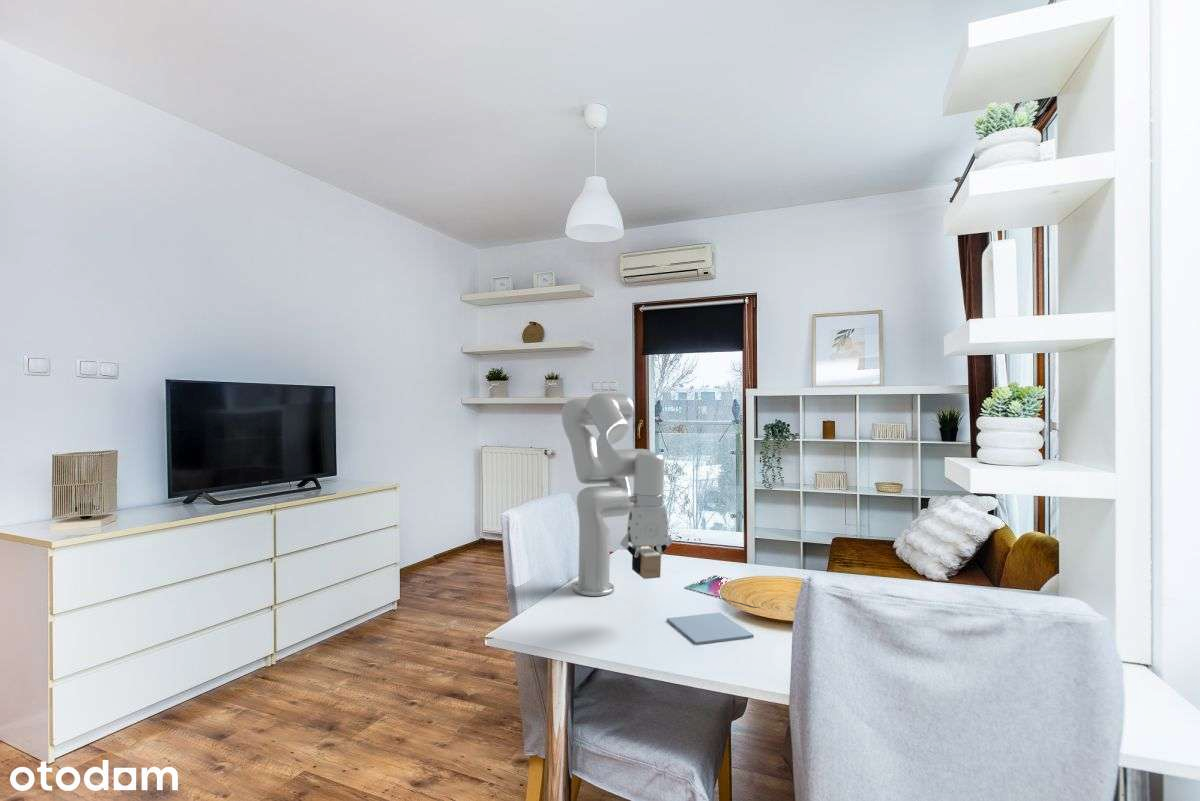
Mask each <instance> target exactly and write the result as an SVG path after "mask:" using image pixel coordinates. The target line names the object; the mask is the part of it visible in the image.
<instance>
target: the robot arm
mask: <svg viewBox="0 0 1200 801" xmlns="http://www.w3.org/2000/svg"><path fill="white" fill-rule="evenodd" d="M634 411H635V406H634V402H633V400H632V399H631V398H630V396H628V395H626V394H625V393H610V392H609V393H606V392H605V393H604V392H602V393H601V392H600V393H595V394H593V395H591V396H590V397H589V398H573V399H569V400H567V401H566V402H565V403H564V405H563V407H562V411H561V422H562V427H563V430H564V433H565V434H566V437H567V439H568V442H569V443H570V448H571V453H572V459H573V463H574V465H573V466H574V469H575V473H576V478H577V479H578V481H579V483H581V484H585V485H595V486H588V487H585V488H583V489H581V490H580V491H579V492H578V494H577V496H576V508H577V514H578V526H579V527H578V529H579V530H578V531H579V532H578V578H577V579H578V580H577V582H575V583H573V586H572V589H573V590H572V591H573V592H575V593H576V594H580V595H583V596H589V597H590V596H591V597H599V596H600V597H601V596H607V595H610V594H612V593H614V591H615V585H614V584H613V583H611V582H610V567H611V566H610V562H611V560H610V559H611V558H610V557H611V555H610V554H611V531H610V528H609V527H608V525H607V524H606V522H605V521H604V518H612V517H613V518H614V517H615V518H616V517H622V516H627V515H628V518H627V526H626V534H625V536H624V537H623V538H622V540H621V541H620V546H621V547H623V549H626V550H627V551H628V552H629V554H630V555H631V557H632V559H631V560H632V561H631V569H632V568H633V570H632V571H633V572H635V571H636V572H637V573H640V560H641V559H640V557H639V553H640V549H641V547H644V546H649V547H652V549H654V550H655V551H657V552H658V553H660V555H661V556H662V555H663V553H664V552H665V550H667V548H668V547H670V545H672V544H673V539H672V538H671V536H670V535H669V520H668V512H667V507H666V505H663V504H664V503H663V502H664V499H663V498H664V478H665V477H664V475H665V474H664V472H665V471H664V470H665V458H664V456H663V454H661V453H659V452H653V451H651V450H649V449H647V448H646V449H645V448H614V447H613V445H615V444H616V443H619V442H621V440H623V439H624V438H625V437H626V436H627V434H628V432H629V428H630V427H629V422H628V421H630V420H631V418H632V417H633V416H634ZM586 426H595V427H596V429H597V431H598V433H599V436H598V438H597V439H596V437H595V435H594V434H593V432H592V431H590V430H589V428H587V427H586ZM629 478H633V479H634V480H633V481H634V482H633V493H632V490H631V485H630V481H629ZM601 484H605V485H601ZM606 484H608V485H606ZM598 485H599V486H598ZM629 543H630V544H631V545H630V544H629ZM636 572H635V573H636ZM637 573H636V574H637Z"/></svg>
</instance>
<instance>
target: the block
mask: <svg viewBox="0 0 1200 801" xmlns="http://www.w3.org/2000/svg"><path fill="white" fill-rule="evenodd" d="M639 557H640V559H641V560H640V573H637V572H636V571H634V570H633V568H632V567H631V570H632V571H634V572H635V573H636V574H637V575H638V576H640V578H642V579H643V580H647V579H648V580H649V579H657V578H659V579H660V578H661V566H662V564H661V563H662V555H660V553H658V552H657V551H655V550H654V549H653V547H652V546H644V547H641V549H640V553H639Z"/></svg>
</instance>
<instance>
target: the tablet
mask: <svg viewBox="0 0 1200 801" xmlns="http://www.w3.org/2000/svg"><path fill="white" fill-rule="evenodd" d="M712 576H713V577H712ZM717 576H719V577H720V575H711V576H710V577H707V578H708V579H707V580H706V578H704V579H705V580H704V579H701V580H699V581H700V583H698V582H699V581H696V582H697V583H698V584H697V583H696V582H693V583H691V584H688V585H686V586H684V587H683V588H684V589H685V590H688V589H689V590H688V591H692V590H693V591H692V592H695V591H697V592H696V593H699V592H700V594H702V593H704V594H703V595H706V594H707V595H706V596H710V595H711V596H710V597H713V596H715V597H714V598H717V597H719V598H718V599H721V598H720V594H719V590H720V587H721V585H722V584H723V582H721V580H722V579H723V578H726V579H727V580H728V578H729V577H723V576H721V578H719V577H717ZM711 577H712V578H711ZM716 577H717V578H716ZM722 577H723V578H722ZM729 579H730V580H731V579H732V578H729ZM726 582H727V581H725V583H726ZM695 583H696V584H695ZM719 583H720V585H719Z"/></svg>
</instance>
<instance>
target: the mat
mask: <svg viewBox="0 0 1200 801" xmlns="http://www.w3.org/2000/svg"><path fill="white" fill-rule="evenodd" d="M666 620H667V622H668V623H670V624H671V625H672V626H673V627H674V628H676V630H678V631H679V632H680V633H682V635H684V637H686V638H687V639H689V640H690V641H691V642H692V643H694V645H696V646H697V645H704V644H705V645H706V644H713V643H719V642H727V641H728V642H729V641H736V640H743V639H751V637H752V638H754V637H755V636H754V635H755V634H753V633H752V632H750V631H749V630H747V629H746V628H745V627H743V626H741V625H740V624H738V623H737V622H735V621H734V620H732V619H731V618H729V617H728V616H726V615H725V614H723V613H722V612H711V613H702V614H701V613H700V614H693V615H686V616H683V615H682V616H675V617H667V618H666Z"/></svg>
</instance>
